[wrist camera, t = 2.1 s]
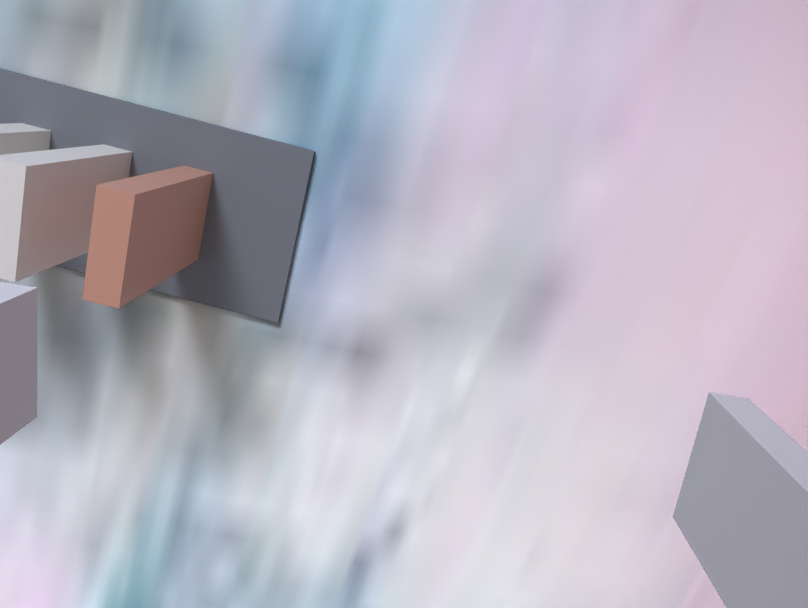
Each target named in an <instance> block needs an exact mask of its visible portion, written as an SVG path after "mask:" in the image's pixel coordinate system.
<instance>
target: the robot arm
mask: <svg viewBox="0 0 808 608" xmlns="http://www.w3.org/2000/svg"><path fill="white" fill-rule="evenodd" d="M36 417H37V287H31V286H24V285H18V284H12V283H5V282H0V444H2V443H3V442H4V441H6V440H7V439H8V438H10V437H11V436H12V435H14V434H15V433H16V432H18V431H19V430H20V429H22V428H23V427H24V426H26V425H27V424H28V423H30V422H31V421H32V420H34V419H35V418H36ZM673 518H674V519H675V521H676V523H677V525H678V526H679V528H680V530H681V531H682V533H683V535H684V536H685V538H686V540H687V542H688V543H689V545H690V547H691V548H692V550H693V552H694V553H695V555H696V557H697V558H698V560H699V562H700V564H701V565H702V567H703V569H704V570H705V572H706V574H707V575H708V577H709V579H710V580H711V582H712V584H713V586H714V587H715V589H716V591H717V592H718V594H719V596H720V597H721V599H722V601H723V603H724V604H725V606H726V608H808V452H807V451H806V450H805V449H804V448H802V447H801V446H800V445H799V444H798V443H797V442H796V441H795V440H794V439H792V438H791V437H790V436H789V435H788V434H787V433H786V432H785V431H784V430H783V429H781V428H780V427H779V426H778V425H777V424H776V423H775V422H774V421H773V420H772V419H770V418H769V417H768V416H767V415H766V414H765V413H764V412H763V411H762V410H760V409H759V408H758V407H757V406H756V405H755V404H754V403H753V402H752V401H751V400H749V399H748V398H742V397H735V396H729V395H722V394H716V393H710V392H709V394H708V398H707V401H706V405H705V408H704V411H703V415H702V418H701V422H700V425H699V429H698V432H697V435H696V439H695V442H694V446H693V449H692V453H691V456H690V460H689V463H688V466H687V470H686V473H685V477H684V480H683V484H682V487H681V490H680V494H679V497H678V501H677V504H676V508H675V511H674V514H673Z"/></svg>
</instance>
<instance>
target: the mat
mask: <svg viewBox="0 0 808 608" xmlns="http://www.w3.org/2000/svg"><path fill="white" fill-rule="evenodd" d="M7 123H24V124H28V125H32V126H36V127H39V128H43V129H47V130H51V137H50V146H49V150H53V149H63V148H72V147H82V146H92V145H102V144H105V145H108V146H112V147H116V148H120V149H124V150H127V151H131V152H132V158H131V165H130V172H129V177H134V176H139V175H143V174H148V173H152V172H157V171H161V170H166V169H171V168H175V167H180V166H184V165H185V166H189V167H193V168H196V169H200V170H204V171H208V172H212V173H213V176H212V182H211V188H210V194H209V200H208V205H207V211H206V217H205V223H204V229H203V234H202V240H201V246H200V252H199V258H198V260H196V261H195V262H193V263H192V264H190V265H188V266H187V267H185V268H184V269H182V270H180V271H179V272H177V273H176V274H174V275H172V276H171V277H169V278H167V279H166V280H164V281H163V282H161V283H159V284H158V285H156V286H155V287H153V288H151V289H150V290H152V291H156V292H160V293H164V294H168V295H172V296H176V297H180V298H184V299H187V300H191V301H195V302H199V303H203V304H207V305H211V306H215V307H219V308H222V309H226V310H230V311H234V312H238V313H242V314H246V315H250V316H254V317H257V318H261V319H265V320H269V321H273V322H277V323H278V322H279V319H280V314H281V309H282V304H283V300H284V295H285V290H286V286H287V281H288V276H289V272H290V267H291V262H292V257H293V253H294V248H295V243H296V239H297V234H298V229H299V224H300V220H301V215H302V210H303V206H304V201H305V196H306V192H307V187H308V182H309V177H310V173H311V168H312V163H313V159H314V154H315V151H312V150H308V149H304V148H301V147H297V146H293V145H289V144H285V143H282V142H278V141H274V140H270V139H266V138H262V137H259V136H255V135H251V134H247V133H243V132H240V131H236V130H232V129H228V128H224V127H221V126H217V125H213V124H209V123H205V122H202V121H198V120H194V119H190V118H186V117H183V116H179V115H175V114H171V113H167V112H164V111H160V110H156V109H152V108H148V107H145V106H141V105H137V104H133V103H129V102H126V101H122V100H118V99H114V98H110V97H107V96H103V95H99V94H95V93H91V92H88V91H84V90H80V89H76V88H72V87H69V86H65V85H61V84H57V83H53V82H50V81H46V80H42V79H38V78H34V77H30V76H27V75H23V74H19V73H15V72H11V71H8V70H4V69H0V124H7ZM87 258H88V253H85V254H83V255H80V256H78V257H75V258H73V259H70V260H68V261H66V262H63V263H61V264H58V265H56V266H59V267H63V268H67V269H71V270H75V271H79V272H82V273H86V266H87Z"/></svg>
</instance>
